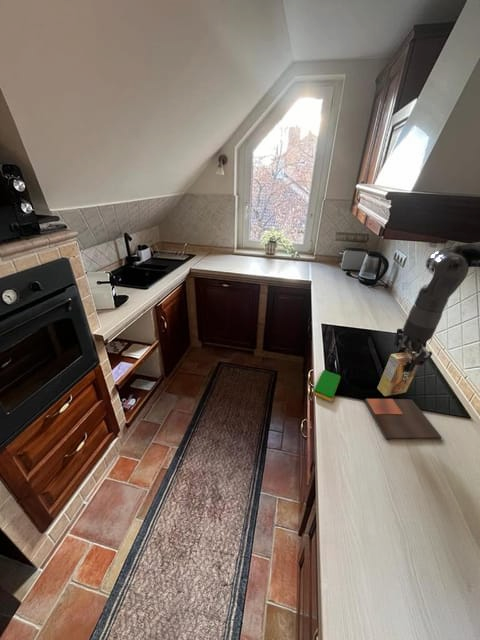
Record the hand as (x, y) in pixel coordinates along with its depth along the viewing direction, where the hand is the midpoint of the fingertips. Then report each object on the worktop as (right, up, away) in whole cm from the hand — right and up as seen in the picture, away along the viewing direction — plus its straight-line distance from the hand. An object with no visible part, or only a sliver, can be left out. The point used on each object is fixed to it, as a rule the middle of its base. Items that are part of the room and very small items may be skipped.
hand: (402, 365), depth 82 cm
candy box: (0, -10, +6) cm, 12 cm away
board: (+3, -20, +6) cm, 21 cm away
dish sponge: (-18, -12, +19) cm, 29 cm away
